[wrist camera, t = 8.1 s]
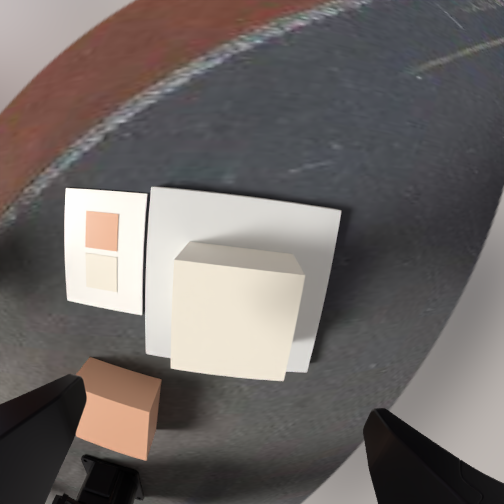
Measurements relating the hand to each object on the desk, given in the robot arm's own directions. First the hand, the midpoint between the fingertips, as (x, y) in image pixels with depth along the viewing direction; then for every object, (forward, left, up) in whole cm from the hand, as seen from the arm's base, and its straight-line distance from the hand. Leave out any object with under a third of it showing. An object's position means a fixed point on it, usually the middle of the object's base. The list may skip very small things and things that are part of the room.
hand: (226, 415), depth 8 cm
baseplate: (0, 0, -12) cm, 12 cm away
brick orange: (-11, +8, -12) cm, 18 cm away
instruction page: (+1, +9, -12) cm, 15 cm away
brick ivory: (-1, 0, -11) cm, 11 cm away
